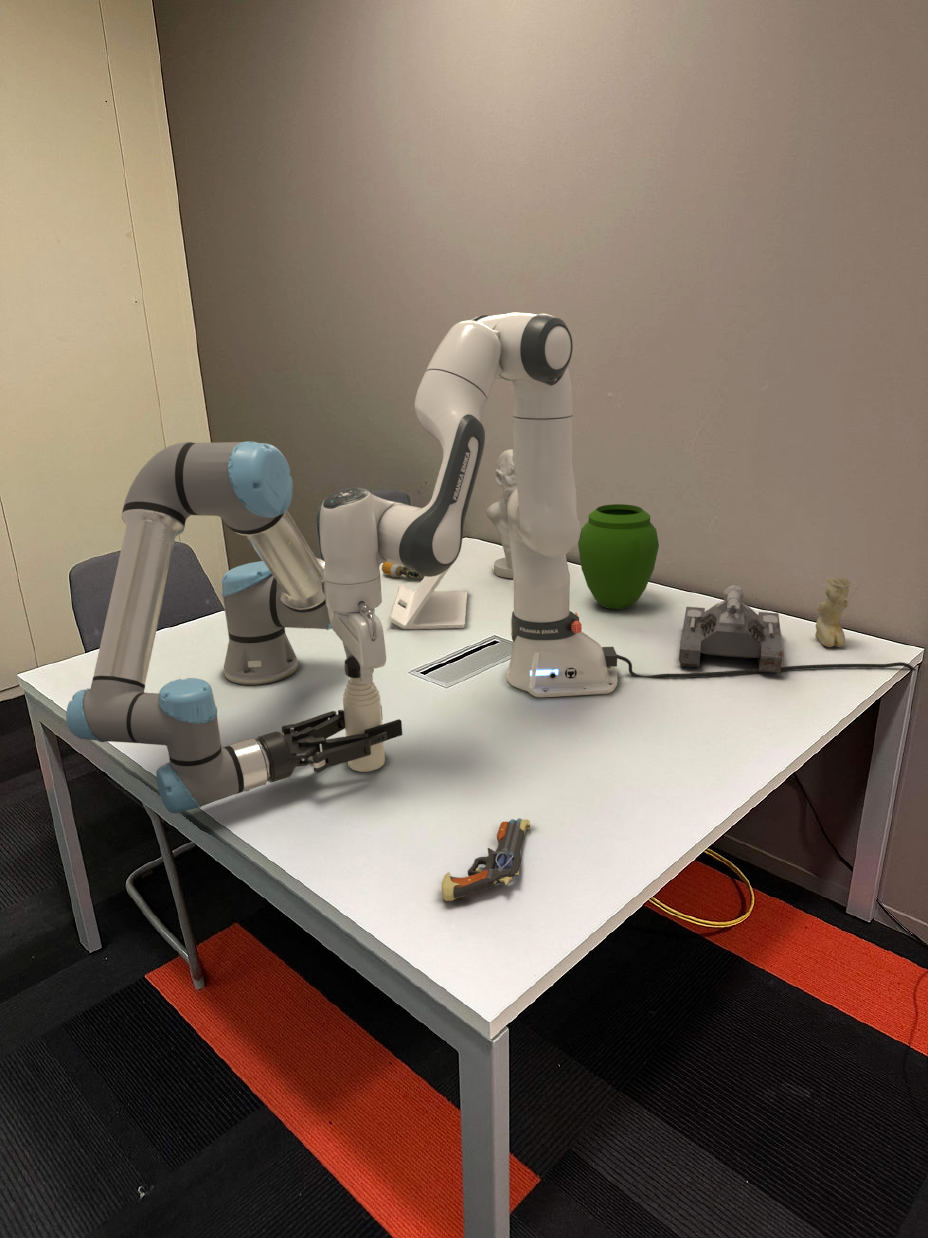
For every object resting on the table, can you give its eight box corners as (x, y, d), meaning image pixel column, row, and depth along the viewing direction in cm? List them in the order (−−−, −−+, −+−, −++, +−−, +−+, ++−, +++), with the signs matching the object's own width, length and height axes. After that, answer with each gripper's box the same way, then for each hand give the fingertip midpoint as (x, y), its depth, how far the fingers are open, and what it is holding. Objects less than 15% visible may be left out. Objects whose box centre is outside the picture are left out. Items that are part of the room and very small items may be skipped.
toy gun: (436, 889, 109) (513, 888, 107) (464, 814, 127) (530, 813, 125) (439, 907, 110) (516, 907, 108) (466, 831, 128) (532, 829, 126)
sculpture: (821, 649, 184) (830, 583, 179) (808, 637, 191) (816, 573, 185) (848, 649, 184) (858, 582, 179) (834, 636, 191) (843, 572, 185)
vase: (599, 587, 227) (601, 497, 218) (668, 600, 216) (673, 505, 208) (562, 608, 212) (564, 513, 204) (634, 623, 202) (639, 523, 193)
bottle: (389, 766, 143) (383, 667, 137) (354, 775, 141) (346, 675, 135) (377, 750, 149) (370, 654, 142) (343, 758, 146) (335, 661, 140)
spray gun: (401, 563, 255) (446, 570, 249) (372, 576, 240) (419, 584, 235) (401, 549, 254) (446, 556, 248) (372, 561, 239) (419, 569, 233)
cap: (342, 669, 140) (341, 657, 140) (370, 665, 142) (369, 653, 141) (347, 680, 136) (346, 668, 136) (376, 675, 138) (375, 664, 137)
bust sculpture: (503, 593, 225) (502, 460, 212) (483, 567, 247) (480, 445, 234) (562, 587, 228) (563, 456, 215) (536, 562, 250) (536, 441, 237)
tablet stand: (467, 593, 225) (465, 531, 219) (465, 628, 202) (462, 559, 196) (399, 594, 226) (395, 532, 220) (388, 629, 203) (384, 560, 197)
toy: (684, 626, 199) (689, 565, 194) (775, 633, 193) (782, 570, 188) (677, 670, 176) (682, 601, 171) (780, 679, 171) (788, 608, 165)
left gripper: (242, 756, 142) (366, 718, 154) (288, 809, 127) (420, 761, 139) (237, 716, 140) (363, 680, 151) (283, 765, 125) (418, 720, 136)
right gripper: (393, 610, 126) (398, 694, 131) (354, 573, 144) (360, 648, 149) (352, 617, 124) (359, 702, 129) (318, 578, 142) (325, 655, 147)
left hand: (390, 719), depth 145 cm, fingers closed on bottle, 6 cm apart
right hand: (359, 673), depth 139 cm, fingers open, 6 cm apart
